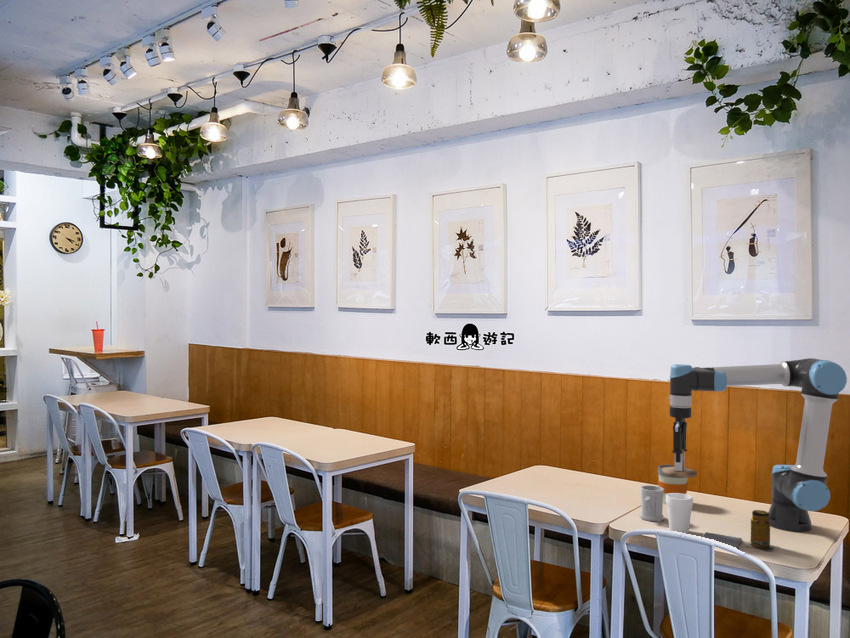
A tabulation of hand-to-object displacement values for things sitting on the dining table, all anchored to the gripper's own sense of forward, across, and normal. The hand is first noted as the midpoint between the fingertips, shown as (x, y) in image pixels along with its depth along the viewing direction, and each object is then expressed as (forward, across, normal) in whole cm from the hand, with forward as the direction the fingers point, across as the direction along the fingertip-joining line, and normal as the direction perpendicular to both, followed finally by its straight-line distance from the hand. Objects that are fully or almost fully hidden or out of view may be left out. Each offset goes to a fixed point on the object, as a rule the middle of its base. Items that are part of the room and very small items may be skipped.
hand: (679, 469), depth 249 cm
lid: (+1, 0, 0) cm, 1 cm away
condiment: (+23, +1, +28) cm, 36 cm away
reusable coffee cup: (+23, -38, -10) cm, 46 cm away
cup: (+23, -10, -12) cm, 28 cm away
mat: (+23, +4, +15) cm, 28 cm away
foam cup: (+23, 0, 0) cm, 23 cm away
